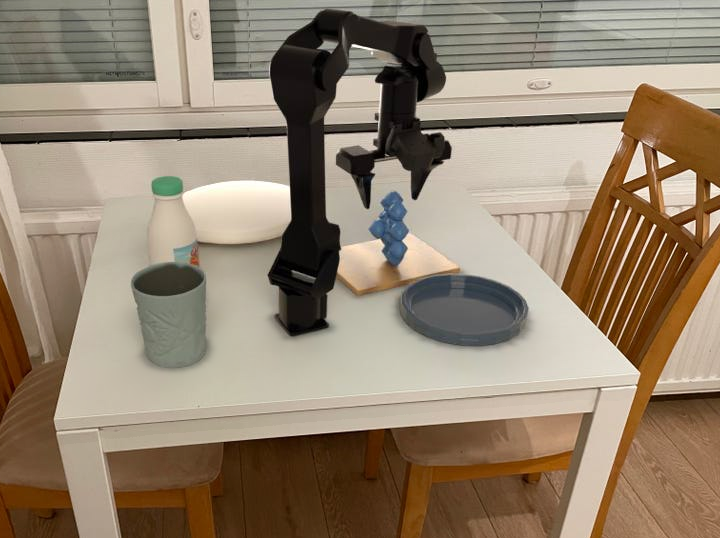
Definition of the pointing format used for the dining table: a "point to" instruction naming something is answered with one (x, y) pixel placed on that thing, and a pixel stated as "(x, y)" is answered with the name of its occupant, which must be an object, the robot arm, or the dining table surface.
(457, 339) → the round blue tray
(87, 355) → the dining table surface
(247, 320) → the dining table surface
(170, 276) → the green plant pot
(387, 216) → the grapes
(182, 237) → the milk bottle
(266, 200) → the plate
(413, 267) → the bamboo board
